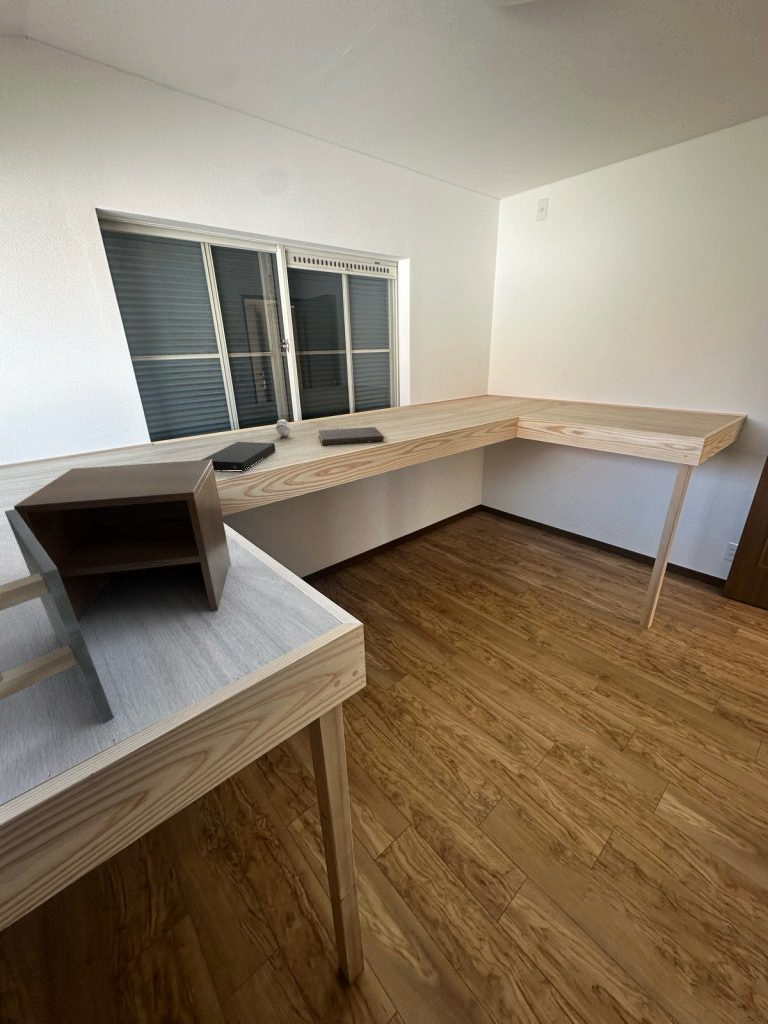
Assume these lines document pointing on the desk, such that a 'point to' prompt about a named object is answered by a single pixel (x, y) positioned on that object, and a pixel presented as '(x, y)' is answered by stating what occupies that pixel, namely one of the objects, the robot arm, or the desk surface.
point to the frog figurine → (283, 428)
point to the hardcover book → (349, 435)
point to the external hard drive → (240, 455)
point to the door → (61, 617)
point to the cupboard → (130, 526)
